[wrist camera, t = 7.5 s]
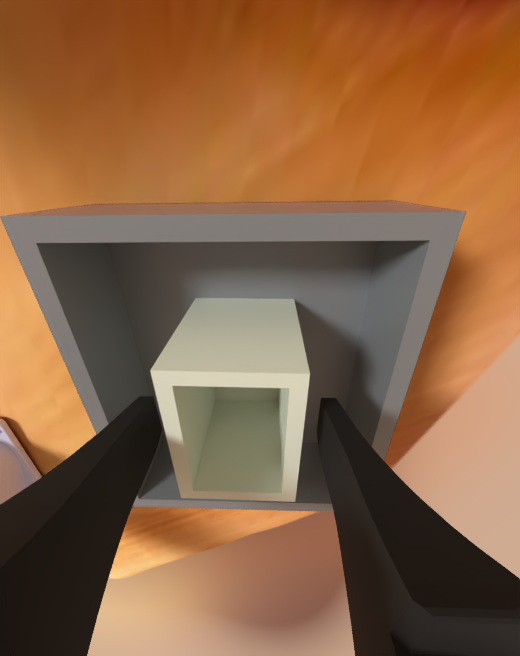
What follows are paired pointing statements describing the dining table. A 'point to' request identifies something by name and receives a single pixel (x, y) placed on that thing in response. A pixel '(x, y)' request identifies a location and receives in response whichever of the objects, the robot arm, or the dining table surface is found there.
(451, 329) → the dining table surface
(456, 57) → the dining table surface
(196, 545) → the dining table surface
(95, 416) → the charcoal crate
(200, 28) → the dining table surface
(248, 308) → the sage crate
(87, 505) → the robot arm
